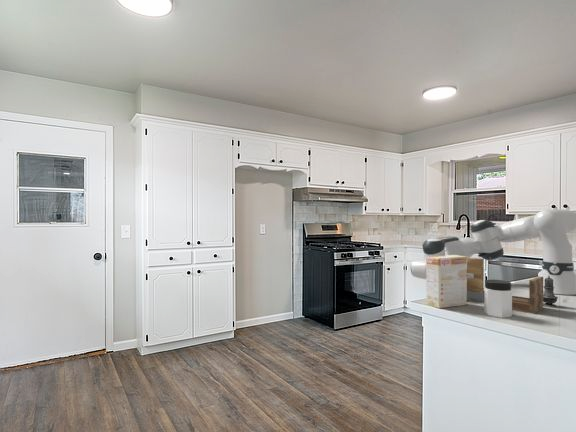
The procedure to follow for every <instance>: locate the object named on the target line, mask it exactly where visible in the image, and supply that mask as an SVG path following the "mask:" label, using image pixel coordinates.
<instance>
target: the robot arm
mask: <svg viewBox="0 0 576 432" xmlns="http://www.w3.org/2000/svg"><path fill="white" fill-rule="evenodd" d="M496 225H497V223H496V222H493V221H491V220H488V219H479V220H476V221H475V222H473V224H471V225H470V231H471V233H472V236H473V237H470V236H469V237H466V236H465V237H461V238H459V237H457V236H444V237H438V238H429V239H426V240H425V241H424V242H423V244H422V246H421V247H422V252H423V257H424V258H423V259H424V260H412V261H411V263H410V273H411V275H412V277H415V278H417V279H422V280H427V264H426V257H429V256H446V254H447V255H459V256H466V257H467V258H472V256H474V255H476V254H478V255H477V257H478V258H481V259H484V260H487V261H496V260H499V259H500V258H501V257H503V256H504V254H505V253H504V251H505V250H504V248H503V247H502V243H515V242H516V243H517V242H522V241H526V240H531V239H535V238H536V239H537V238H540V239H541V242H542V251H543V253H542V257H543V258H542V259H543V260H542V262H541V268H542V269H541V271H539V272H538V276H537V277H539V276H540V277H543V286H545V278H548V276H550V278H552V279H553V287H554V295H555V294H556V295H567V296H568V295H569V296H571V295H572V296H574V295H576V274H575V272H574V270H575V269H574V268H575V266H574V265H575V264H574V262H573V246H572V244H571V242H570V240H569V238H568V235H567V233H569V232H573V231H575V230H576V212H575V211H573V210H570V209H559V208H557V209H556V208H553V209H551V208H548V209H544V210H541V211H539V212H537V213H536V214H534V215H528V216H525V217H521V218H517V219H514V220H509V221H507V222H504V223H502V224H500V225H497V226H496ZM501 242H502V243H501ZM467 278H475V274H469V273H467ZM543 293H544V287H543Z"/></svg>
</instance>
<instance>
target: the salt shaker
mask: <svg viewBox="0 0 576 432" xmlns="http://www.w3.org/2000/svg"><path fill="white" fill-rule="evenodd" d="M543 287H544V292H543V307H546V308H558V305H556V303H557V301H558V299H559V297H558V296H556V295H555V294H554V287H553V279H552V278H550V276H548V278H545V286H543Z"/></svg>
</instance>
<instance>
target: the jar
mask: <svg viewBox="0 0 576 432" xmlns="http://www.w3.org/2000/svg"><path fill="white" fill-rule="evenodd" d="M512 296H513V290H512V282H511V281H508V280H502V279H486V280H485V279H484V302H483V304H484V305H483V307H484V309H483V311H484V313H485V314H486V315H487V316H490V317H495V318H502V319H503V318H512V317H513V310H512Z"/></svg>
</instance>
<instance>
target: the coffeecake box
mask: <svg viewBox="0 0 576 432" xmlns="http://www.w3.org/2000/svg"><path fill="white" fill-rule="evenodd" d="M426 264H427V279H426V305H427V306H430V307H434V308H437V309H443V308H444V309H445V308H451V307H458V306H459V307H460V306H467V305H468V301H467V300H468V299H467V257H466V256H459V255H448V254H447V255H446V254H445V256H429V257H426Z"/></svg>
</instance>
